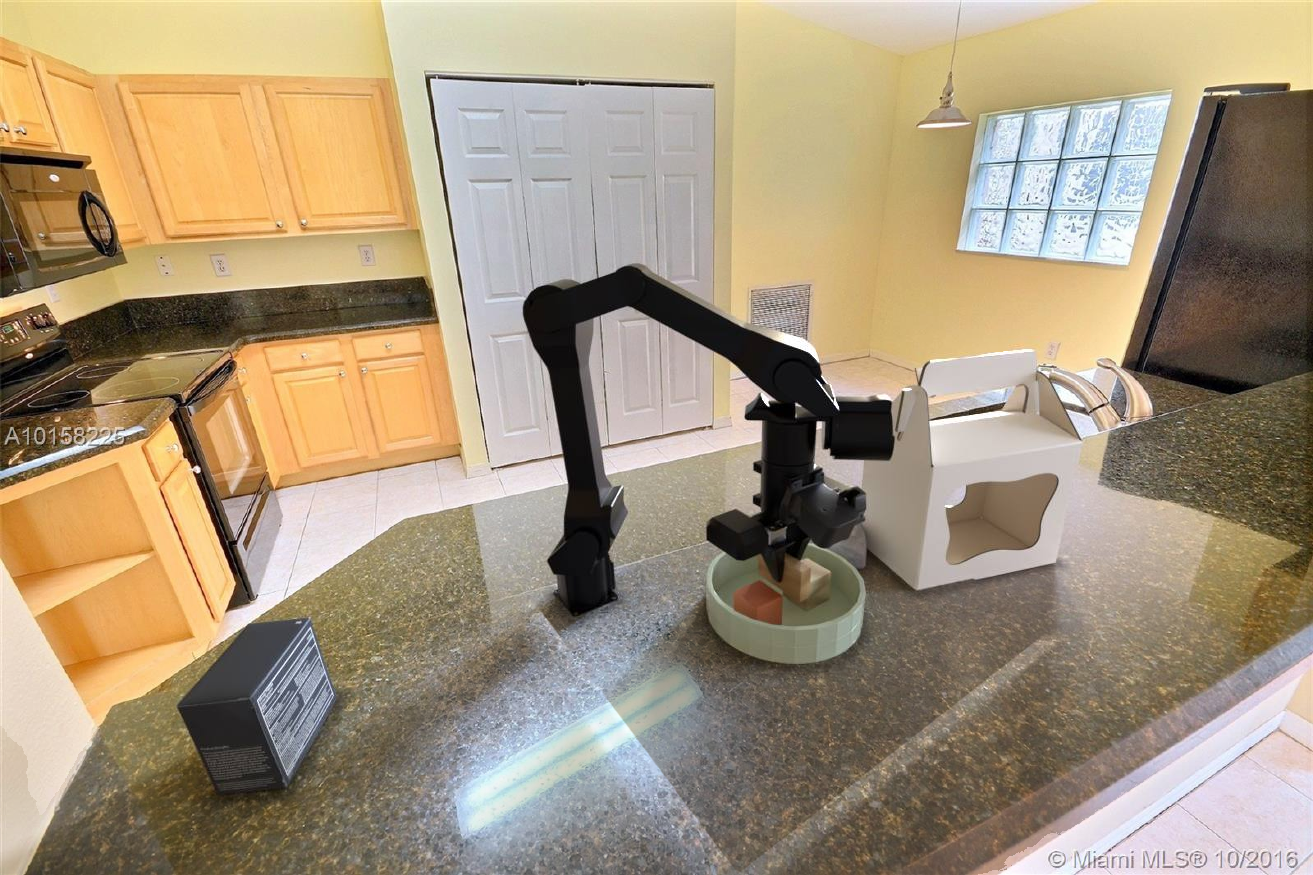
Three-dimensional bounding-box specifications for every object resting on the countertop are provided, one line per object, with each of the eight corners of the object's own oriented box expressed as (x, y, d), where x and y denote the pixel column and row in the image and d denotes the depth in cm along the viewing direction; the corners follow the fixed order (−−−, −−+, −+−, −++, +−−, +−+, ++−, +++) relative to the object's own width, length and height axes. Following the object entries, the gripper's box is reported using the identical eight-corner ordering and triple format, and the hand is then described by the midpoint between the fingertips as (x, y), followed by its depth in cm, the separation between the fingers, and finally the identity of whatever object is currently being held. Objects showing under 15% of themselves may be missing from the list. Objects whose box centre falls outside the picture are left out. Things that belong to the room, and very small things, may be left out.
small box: (275, 703, 60) (246, 620, 56) (340, 697, 60) (315, 614, 57) (210, 797, 50) (169, 704, 46) (288, 789, 50) (253, 696, 47)
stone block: (797, 580, 79) (873, 570, 76) (789, 550, 78) (867, 538, 75) (796, 538, 90) (862, 528, 87) (789, 511, 89) (856, 499, 86)
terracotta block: (756, 638, 65) (756, 608, 64) (733, 619, 68) (733, 591, 67) (782, 624, 67) (783, 595, 66) (758, 607, 70) (759, 579, 69)
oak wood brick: (799, 602, 65) (801, 572, 64) (757, 574, 71) (758, 545, 69) (809, 597, 66) (811, 567, 65) (767, 569, 72) (768, 541, 70)
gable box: (982, 518, 89) (1013, 338, 79) (1058, 563, 77) (1105, 357, 67) (854, 542, 84) (870, 353, 74) (913, 594, 72) (942, 377, 62)
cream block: (806, 611, 69) (808, 583, 68) (782, 595, 72) (783, 568, 71) (829, 599, 71) (831, 572, 70) (805, 584, 74) (806, 557, 73)
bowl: (780, 694, 58) (782, 654, 56) (677, 603, 73) (676, 569, 71) (895, 624, 67) (899, 588, 65) (783, 556, 82) (784, 525, 80)
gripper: (777, 508, 52) (772, 648, 57) (907, 457, 61) (892, 583, 66) (702, 469, 60) (704, 593, 66) (825, 430, 70) (818, 542, 75)
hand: (783, 578), depth 68 cm, fingers closed on oak wood brick, 2 cm apart
